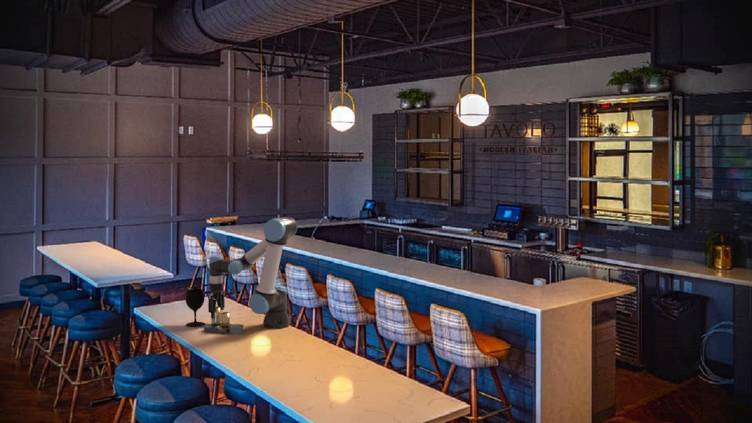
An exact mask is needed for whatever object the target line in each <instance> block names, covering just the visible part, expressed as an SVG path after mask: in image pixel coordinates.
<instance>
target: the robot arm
mask: <svg viewBox="0 0 752 423" xmlns="http://www.w3.org/2000/svg"><path fill="white" fill-rule="evenodd" d="M297 231H298V223H297V220H296V219H294V218H293V217H291V216H283V217H274V218H272V219H270V220H268V221H267V222H265V224H264V226H263V235H264V237H265V238H263V239H262V240H261V241H260V242H258V243H257V244H256V245H255V246H254V247H252V248H251V249H250V250H248V251H247V252H245V254H244V255H242V256H241V257H237V258H235V259H224V257H223V255H220V254H216V255H210V257H209V261H208V262H209V263H208V265H209V290H210V294H208V295H207V298H208V302H207V304H208V305H207V306H208V313H210V320H211V323H210V324H212V323H214V322H216V313H215V309H216V307H217V306H219V307H221V313H223V311H224V310H225V307H226V306H225V294H226V293H225V292H226V291H225V290H223V289H224V274H228V275H239V274H241V273H242V272H243V271H247V270H250V269H251V268H253V267H254V265H255V264H256V263H257V262H258V261H259V260H260V259H262V258H264V259H263V264H262V269H261V273H260V277H259V282H258V284H257V285H256V286H255V288H254V293H253V294H252V295H251V296H250V297H249V300H248V304H249V308H250V309H251V311H252V312H253V313H255V314H257V315H263V314H265V315H264V318H263V321H262V326H263V327H264V328H267V329H283V328H288V327H289V326H290V325H291V322H290V317H289V315H288V311H287V310H288V307H287V305H288V300H287V299H288V297H287V296H288V290H287V287H286V286H285V285H280V284H279V285H278V284H276V283H277V282H276V281H277V276H278V271H279V267H280V263H281V257H282V253H283V250H284V247H285V246H287V243H288V240H289V239H291V238H293V237H294V236H295V234H297ZM221 322H222V319H221Z"/></svg>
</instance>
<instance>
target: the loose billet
mask: <svg viewBox="0 0 752 423" xmlns="http://www.w3.org/2000/svg"><path fill="white" fill-rule="evenodd" d="M215 313H216V322H219V323H222V321H221V307H219V306H218V305H216V309H215Z"/></svg>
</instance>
